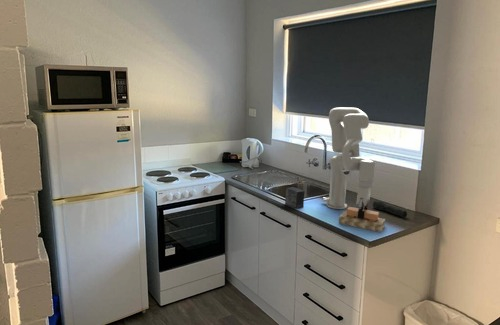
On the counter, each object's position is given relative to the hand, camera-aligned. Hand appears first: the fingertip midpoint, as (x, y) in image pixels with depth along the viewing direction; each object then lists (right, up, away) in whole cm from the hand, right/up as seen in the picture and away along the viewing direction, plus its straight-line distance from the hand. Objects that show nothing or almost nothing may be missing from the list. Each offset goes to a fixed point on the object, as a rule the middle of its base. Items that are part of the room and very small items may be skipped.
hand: (362, 215), depth 205 cm
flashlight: (+22, -2, +22) cm, 31 cm away
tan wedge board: (0, -5, +1) cm, 5 cm away
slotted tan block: (0, -5, +1) cm, 5 cm away
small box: (-33, +2, +29) cm, 44 cm away
